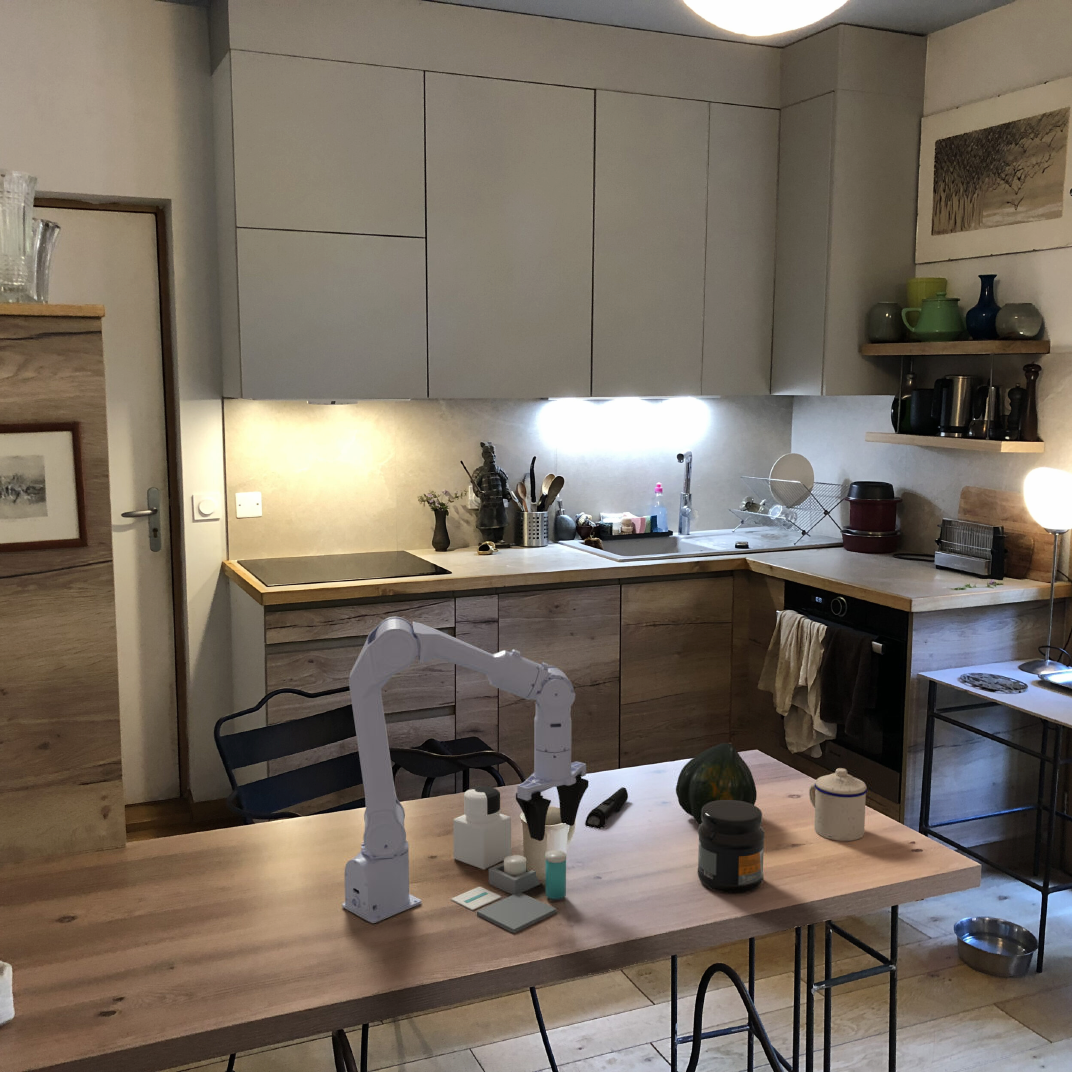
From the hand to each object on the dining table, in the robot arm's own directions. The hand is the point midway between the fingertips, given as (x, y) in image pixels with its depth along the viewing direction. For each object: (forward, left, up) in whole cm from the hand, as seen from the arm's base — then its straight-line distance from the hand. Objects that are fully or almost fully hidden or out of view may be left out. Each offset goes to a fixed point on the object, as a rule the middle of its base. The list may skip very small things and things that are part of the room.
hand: (552, 831), depth 168 cm
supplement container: (+23, -17, -10) cm, 31 cm away
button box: (-2, +7, -10) cm, 12 cm away
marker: (-1, -1, -10) cm, 10 cm away
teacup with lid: (+54, -18, -10) cm, 58 cm away
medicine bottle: (+1, +18, -10) cm, 21 cm away
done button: (-2, +7, -9) cm, 11 cm away
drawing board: (-9, -1, -10) cm, 13 cm away
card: (-10, +7, -10) cm, 16 cm away
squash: (+43, 0, -10) cm, 45 cm away
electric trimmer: (+31, +16, -11) cm, 37 cm away
